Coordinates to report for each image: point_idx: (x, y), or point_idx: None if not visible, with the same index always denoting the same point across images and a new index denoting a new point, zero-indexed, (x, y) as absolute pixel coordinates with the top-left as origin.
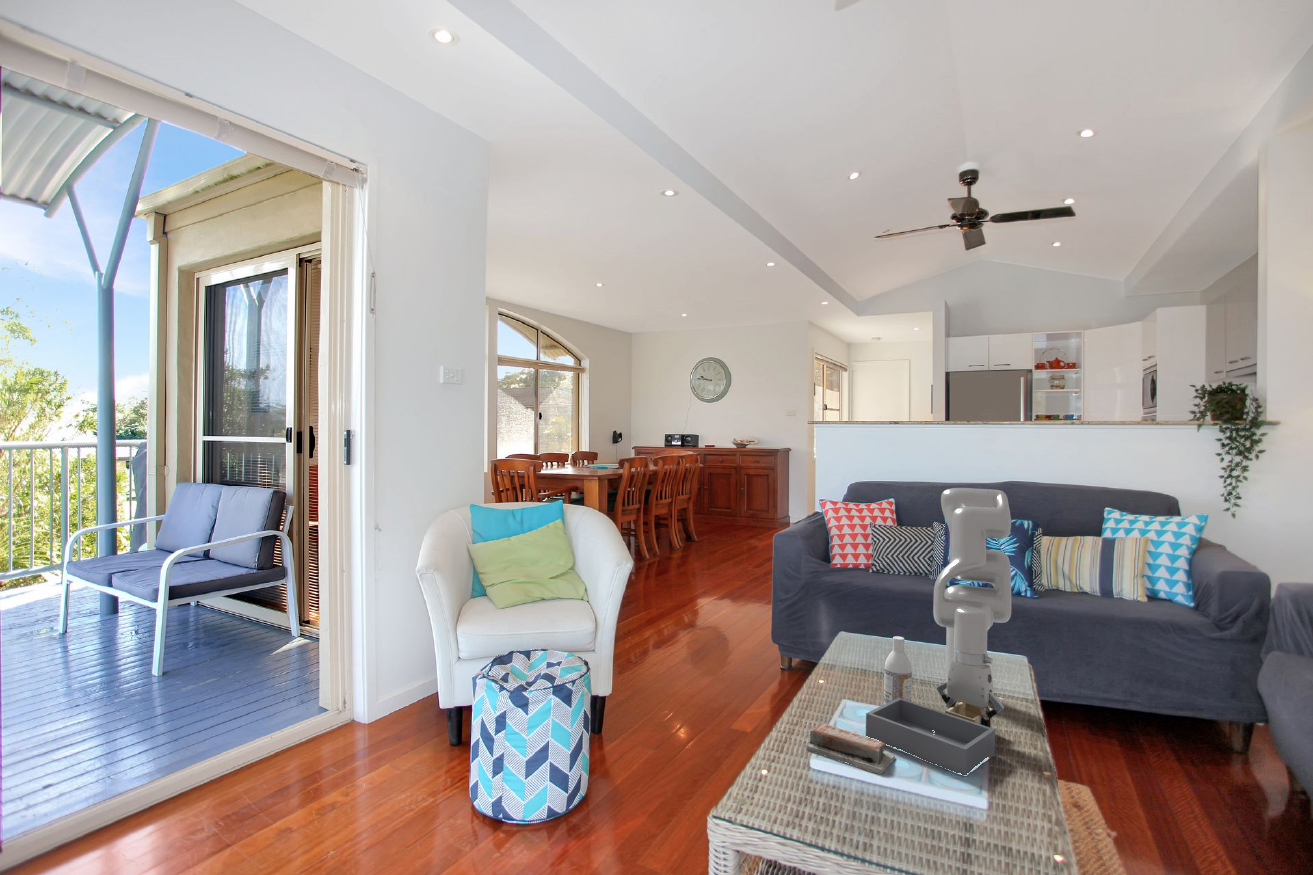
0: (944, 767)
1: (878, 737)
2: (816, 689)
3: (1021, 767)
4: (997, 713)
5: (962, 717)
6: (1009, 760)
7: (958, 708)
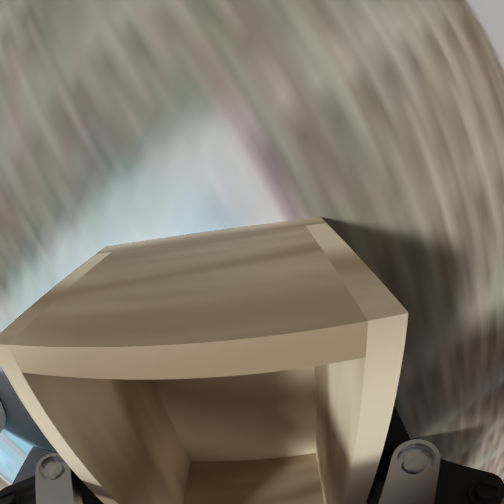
0: None
1: None
2: None
3: (494, 417)
4: (490, 476)
5: None
6: (465, 419)
7: (119, 474)
